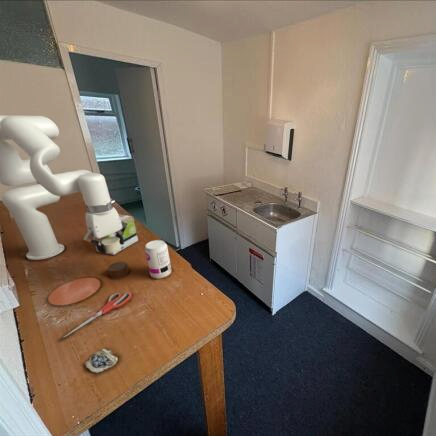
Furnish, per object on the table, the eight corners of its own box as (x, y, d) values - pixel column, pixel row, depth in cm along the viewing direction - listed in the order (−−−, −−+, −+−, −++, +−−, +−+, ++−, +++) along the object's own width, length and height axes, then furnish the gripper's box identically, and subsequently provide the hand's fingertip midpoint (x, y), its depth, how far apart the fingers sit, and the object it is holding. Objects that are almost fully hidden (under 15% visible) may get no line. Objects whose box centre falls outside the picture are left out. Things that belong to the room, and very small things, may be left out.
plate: (39, 297, 85) (38, 296, 85) (85, 274, 98) (85, 273, 98) (64, 311, 80) (63, 310, 80) (109, 285, 93) (109, 284, 93)
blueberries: (100, 348, 70) (98, 343, 69) (125, 351, 69) (123, 347, 68) (79, 370, 63) (77, 366, 63) (107, 374, 63) (105, 370, 62)
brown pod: (106, 275, 98) (103, 268, 96) (122, 267, 104) (119, 259, 102) (117, 280, 96) (114, 272, 94) (132, 271, 102) (130, 264, 100)
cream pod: (98, 250, 93) (96, 242, 91) (115, 243, 98) (112, 235, 97) (109, 255, 91) (106, 246, 89) (125, 247, 96) (123, 239, 95)
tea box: (114, 255, 111) (106, 228, 105) (96, 252, 112) (87, 225, 106) (139, 240, 124) (133, 215, 118) (123, 237, 126) (116, 212, 120)
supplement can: (150, 281, 97) (143, 251, 90) (150, 270, 103) (144, 241, 97) (172, 276, 100) (166, 247, 94) (171, 266, 107) (166, 237, 101)
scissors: (60, 339, 71) (58, 335, 71) (117, 292, 90) (116, 289, 90) (81, 344, 70) (80, 340, 70) (135, 295, 89) (134, 292, 89)
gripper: (116, 198, 95) (126, 236, 103) (65, 212, 81) (81, 255, 88) (129, 202, 93) (138, 240, 100) (79, 217, 78) (94, 261, 86)
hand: (111, 247), depth 94 cm, fingers closed on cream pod, 6 cm apart
